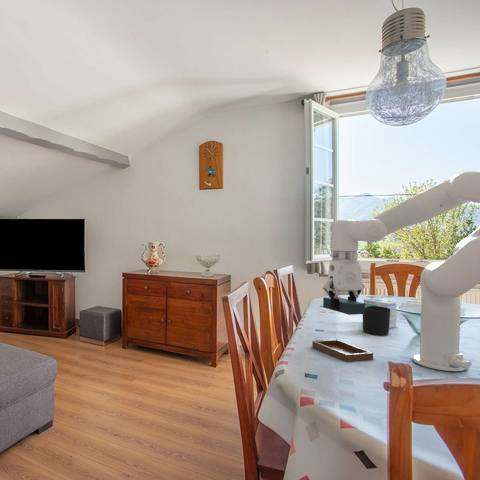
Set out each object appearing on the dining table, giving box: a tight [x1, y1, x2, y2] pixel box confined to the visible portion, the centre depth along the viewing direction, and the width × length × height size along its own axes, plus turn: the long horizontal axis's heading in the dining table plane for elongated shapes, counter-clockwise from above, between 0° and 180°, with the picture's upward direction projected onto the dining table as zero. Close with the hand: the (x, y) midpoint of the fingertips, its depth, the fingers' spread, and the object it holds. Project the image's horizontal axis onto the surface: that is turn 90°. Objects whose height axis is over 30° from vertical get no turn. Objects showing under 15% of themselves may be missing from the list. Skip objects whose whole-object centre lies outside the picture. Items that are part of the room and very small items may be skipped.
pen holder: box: [362, 306, 390, 336], centre depth 160 cm, size 9×9×10 cm
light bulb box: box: [363, 297, 398, 329], centre depth 173 cm, size 11×7×11 cm, turn 25°
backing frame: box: [311, 339, 374, 363], centre depth 135 cm, size 16×10×2 cm, turn 13°
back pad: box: [322, 296, 365, 316], centre depth 136 cm, size 12×6×4 cm, turn 12°
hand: (343, 308), depth 136 cm, fingers closed on back pad, 6 cm apart
